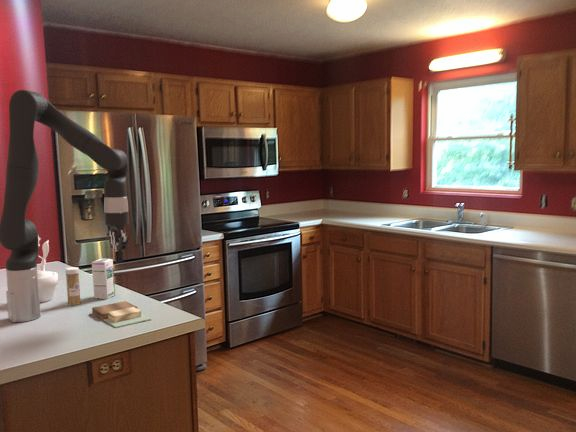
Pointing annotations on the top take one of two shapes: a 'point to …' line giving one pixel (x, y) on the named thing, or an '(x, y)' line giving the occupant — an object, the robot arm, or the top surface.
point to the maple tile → (124, 314)
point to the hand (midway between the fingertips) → (118, 262)
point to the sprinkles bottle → (73, 285)
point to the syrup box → (103, 278)
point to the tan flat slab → (110, 309)
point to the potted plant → (46, 277)
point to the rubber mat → (127, 321)
